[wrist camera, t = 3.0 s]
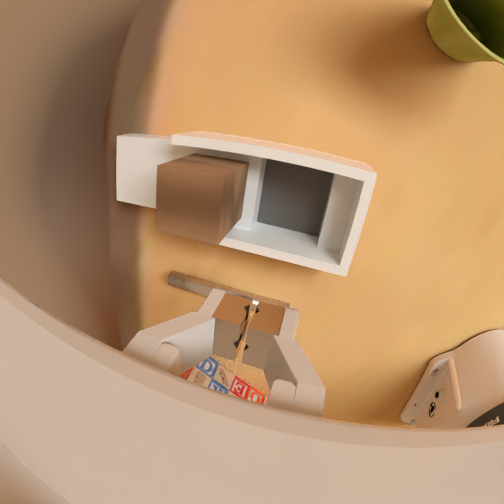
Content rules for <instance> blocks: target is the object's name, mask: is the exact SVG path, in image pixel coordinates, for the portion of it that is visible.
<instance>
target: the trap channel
mask: <svg viewBox="0 0 504 504" xmlns="http://www.w3.org/2000/svg"><path fill="white" fill-rule="evenodd" d="M194 153H195V154H202V155H209V156H216V157H222V158H228V159H234V160H240V161H246V162H249V168H248V175H247V182H246V189H245V196H244V203H243V210H242V218H241V219H240V220H239V221H238V222H237V223H236V224H235V226H234V227H233V228H232V229H231V230H230V231H229V233H228V234H227V235H226V236H225V237H224V238H223V240H222V241H221V242H220V243H219V244H218V245H222V246H226V247H230V248H234V249H238V250H242V251H246V252H250V253H254V254H258V255H262V256H266V257H270V258H274V259H278V260H282V261H286V262H290V263H294V264H298V265H302V266H306V267H310V268H314V269H318V270H322V271H326V272H330V273H334V274H338V275H341V276H345V277H346V275H347V272H348V269H349V266H350V264H351V261H352V258H353V255H354V252H355V249H356V246H357V243H358V240H359V236H360V233H361V230H362V227H363V224H364V220H365V217H366V214H367V210H368V207H369V203H370V200H371V196H372V192H373V189H374V185H375V181H376V177H377V173H376V172H375V171H374V170H373V169H372V168H371V166H370V165H369V164H367V163H364V162H360V161H356V160H353V159H349V158H345V157H341V156H337V155H333V154H329V153H325V152H321V151H317V150H312V149H308V148H303V147H299V146H294V145H289V144H284V143H278V142H273V141H267V140H262V139H256V138H250V137H243V136H236V135H229V134H222V133H214V132H205V131H193V132H186V133H179V134H173V135H172V136H164V135H151V134H134V133H131V134H125V135H120V136H117V159H116V182H117V200H118V201H122V202H127V203H132V204H136V205H141V206H146V207H150V208H155V209H156V182H157V165H160V164H163V163H166V162H169V161H172V160H175V159H178V158H181V157H184V156H187V155H191V154H194Z"/></svg>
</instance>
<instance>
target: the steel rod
mask: <svg viewBox="0 0 504 504" xmlns="http://www.w3.org/2000/svg"><path fill="white" fill-rule="evenodd" d="M168 285H170V286H173V287H176V288H179V289H182V290H185V291H189V292H192V293H195V294H198V295H202V296H205V297H207V296H208V295H209V294H210V292H211V291H212V289H214V288H219V289H222V290H225V291H227V292H228V291H229V292H232V293H236V294H239V295H242V296H246V297H249V298H252V299H253V306H252V309H251V310H253V311H256V308H257V305H258V302H259V301H263V302H267V303H270V304H274V305H278V306H282V307H288V308H289V304H290V303H287V302H283V301H279V300H275V299H271V298H268V297H264V296H260V295H256V294H253V293H249V292H245V291H242V290H238V289H234V288H231V287H227V286H224V285H220V284H217V283H213V282H210V281H206V280H203V279H199V278H196V277H192V276H189V275H186V274H182V273H179V272H176V271H172V272H171V273H170V275H169V277H168ZM285 309H286V308H285Z"/></svg>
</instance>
